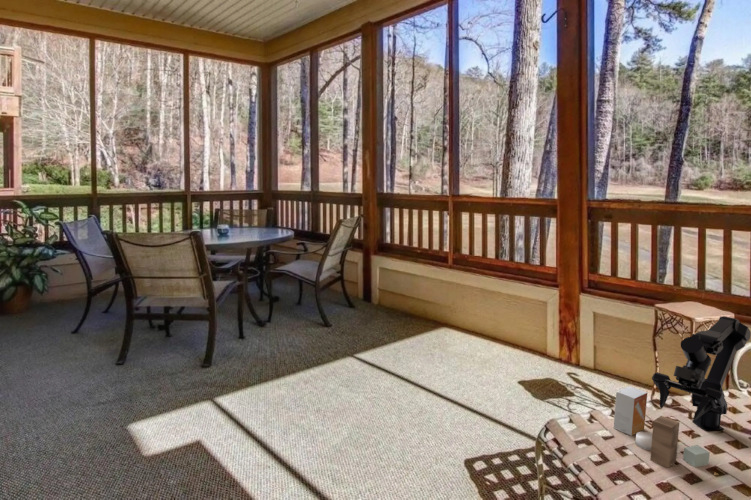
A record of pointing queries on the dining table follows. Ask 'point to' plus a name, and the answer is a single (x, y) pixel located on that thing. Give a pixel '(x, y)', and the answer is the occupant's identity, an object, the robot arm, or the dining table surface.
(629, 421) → the small box
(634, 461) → the dining table surface
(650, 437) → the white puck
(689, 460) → the sage block
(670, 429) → the walnut block
